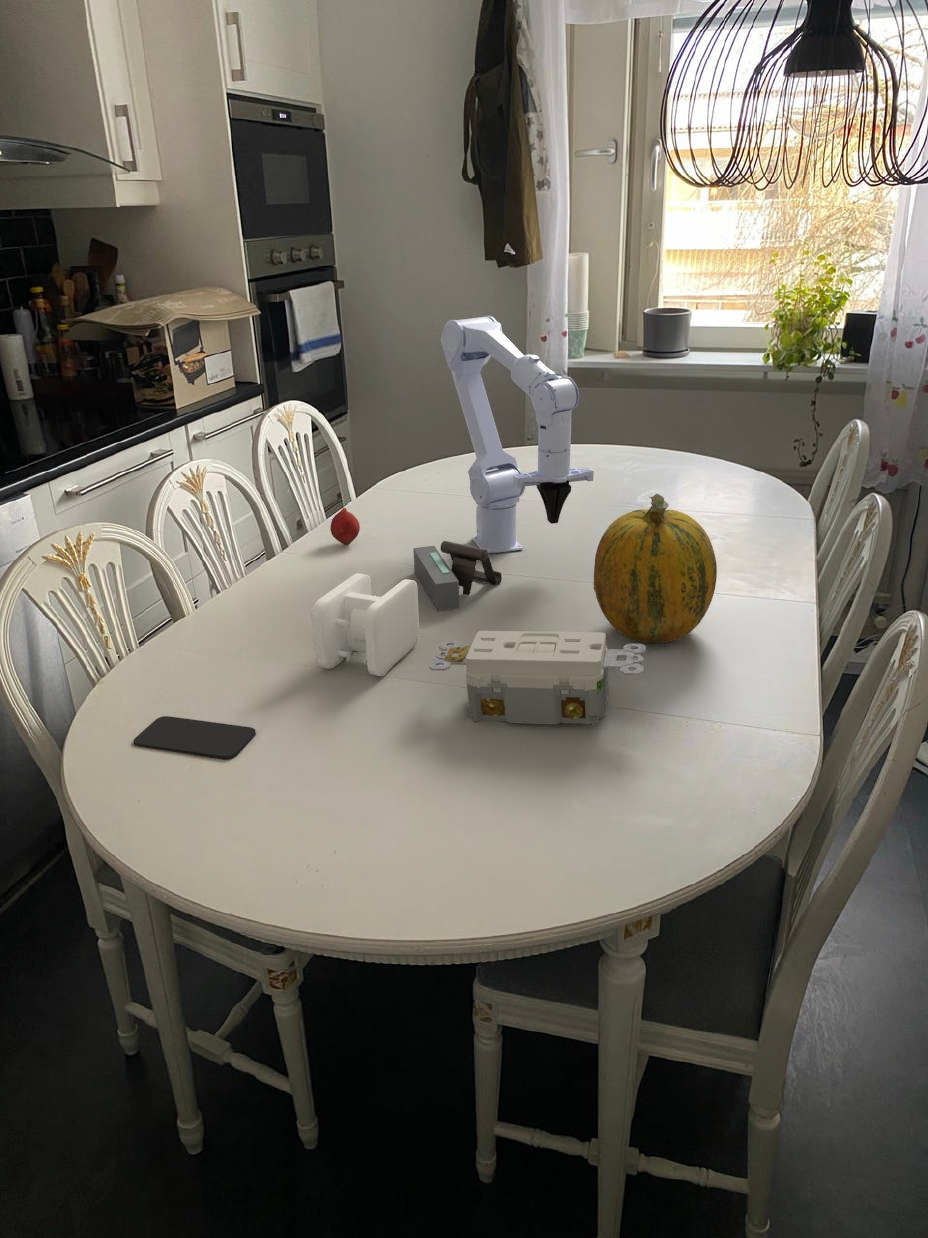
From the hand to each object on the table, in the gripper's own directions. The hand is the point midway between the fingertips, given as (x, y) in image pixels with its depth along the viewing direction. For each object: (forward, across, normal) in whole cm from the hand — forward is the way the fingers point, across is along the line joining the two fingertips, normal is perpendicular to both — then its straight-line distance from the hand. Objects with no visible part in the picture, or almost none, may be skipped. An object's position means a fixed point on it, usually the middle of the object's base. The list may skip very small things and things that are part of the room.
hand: (552, 521), depth 172 cm
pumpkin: (+10, +6, -30) cm, 32 cm away
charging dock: (+9, -23, -3) cm, 25 cm away
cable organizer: (+10, -39, -26) cm, 48 cm away
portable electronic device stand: (+10, -16, -3) cm, 19 cm away
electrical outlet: (+10, -19, -48) cm, 52 cm away
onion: (+10, -35, +25) cm, 44 cm away
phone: (+10, -65, -42) cm, 78 cm away
